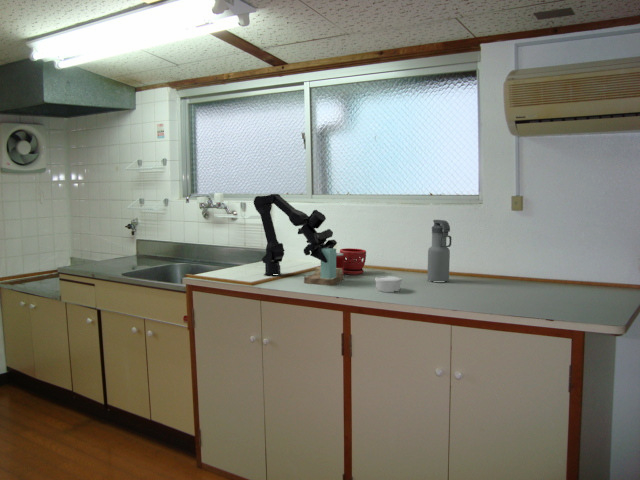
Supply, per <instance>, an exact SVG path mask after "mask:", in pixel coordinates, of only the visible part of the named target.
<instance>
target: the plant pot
mask: <svg viewBox="0 0 640 480" xmlns="http://www.w3.org/2000/svg"><path fill="white" fill-rule="evenodd" d="M339 253H343V255H344V273H343V275H349V276H350V275H352V276H353V275H354V276H355V275H361V274H363V272H364V271H365V270H364V266H365V264H366V259H367V250H366V249H362V248H350V247H349V248H346V247H345V248H341V249H339Z"/></svg>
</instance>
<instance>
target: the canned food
mask: <svg viewBox="0 0 640 480" xmlns="http://www.w3.org/2000/svg"><path fill="white" fill-rule="evenodd" d="M336 268H342V275H344V274H343V273H344V255H343V253H340V252H336Z"/></svg>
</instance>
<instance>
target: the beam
mask: <svg viewBox="0 0 640 480" xmlns="http://www.w3.org/2000/svg"><path fill="white" fill-rule="evenodd" d="M314 273H315V274H319V275H321V266H316V267H315V268H314ZM340 275H342V268H336V276H340Z"/></svg>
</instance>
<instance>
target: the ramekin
mask: <svg viewBox="0 0 640 480" xmlns="http://www.w3.org/2000/svg"><path fill="white" fill-rule="evenodd" d="M374 280H375V285H376V290H377V291H378V292H380V291H383V292H382V293H389V292H391V293H395V292H394V291H398V292H399V291H400V289H401V285H402V278H401V277H399V276H388V275H387V276H382V275H381V276H376V277H375V278H374Z"/></svg>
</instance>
